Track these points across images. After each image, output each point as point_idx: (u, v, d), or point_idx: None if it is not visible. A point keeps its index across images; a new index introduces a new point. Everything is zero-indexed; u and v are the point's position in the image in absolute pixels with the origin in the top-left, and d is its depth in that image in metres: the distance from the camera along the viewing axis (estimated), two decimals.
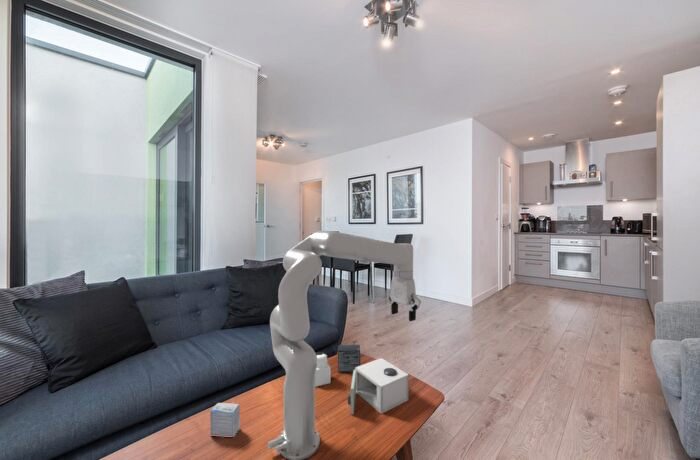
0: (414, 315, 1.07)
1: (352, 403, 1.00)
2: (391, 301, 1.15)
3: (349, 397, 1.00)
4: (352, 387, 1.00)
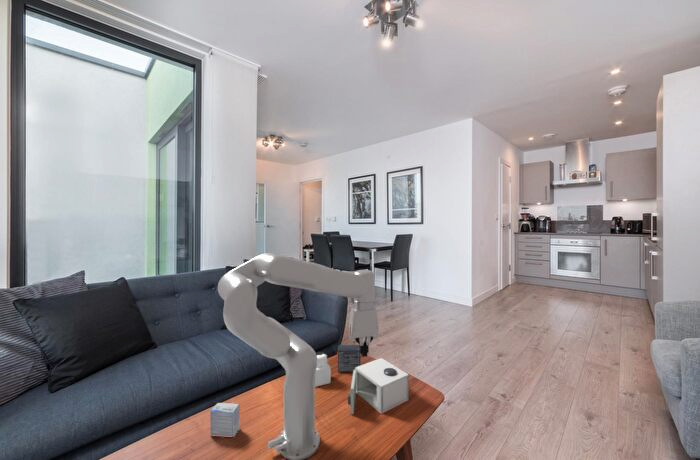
0: (360, 349, 1.00)
1: (352, 403, 1.00)
2: (367, 339, 1.02)
3: (349, 397, 1.00)
4: (352, 387, 1.00)
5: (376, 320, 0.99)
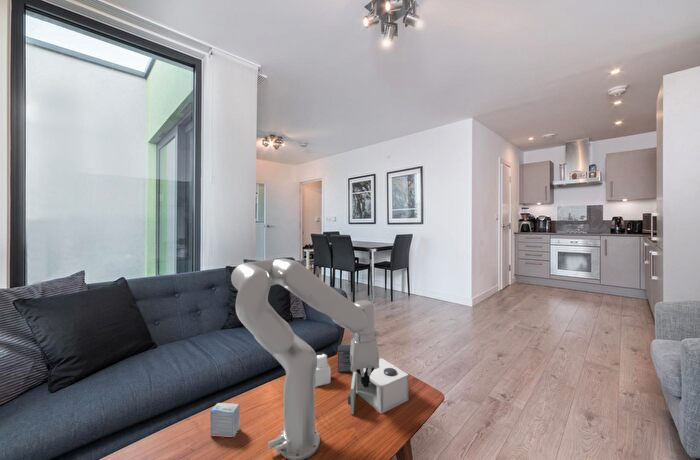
0: (361, 380, 1.01)
1: (352, 403, 1.00)
2: (368, 369, 1.03)
3: (349, 397, 1.00)
4: (352, 387, 1.00)
5: (377, 351, 1.00)
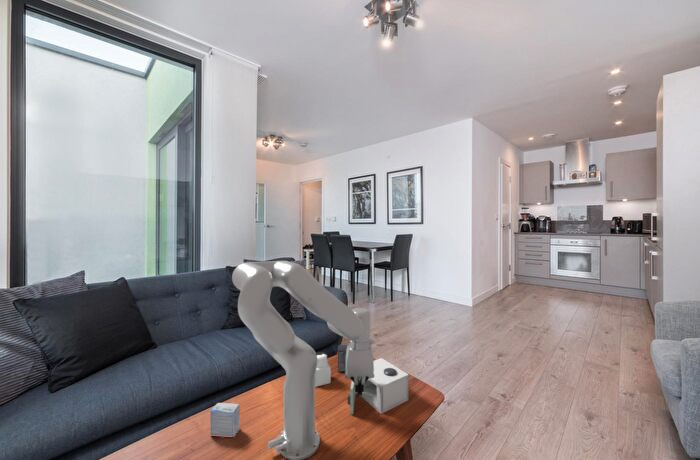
0: (355, 387, 1.01)
1: (352, 403, 1.00)
2: None
3: (349, 397, 1.00)
4: (352, 387, 1.00)
5: (371, 360, 0.99)
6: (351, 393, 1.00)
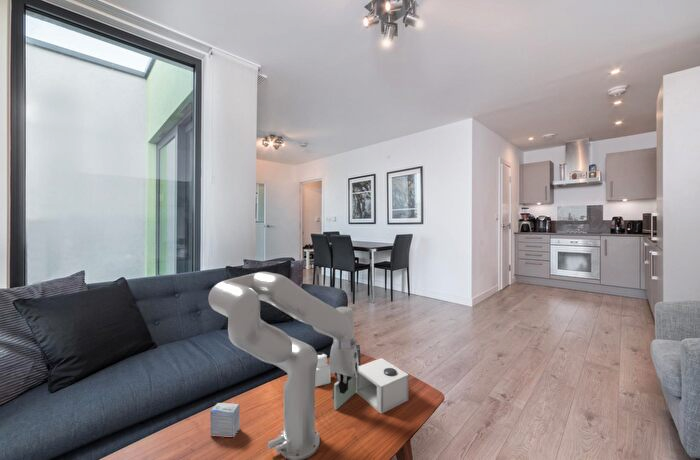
0: None
1: (335, 399, 1.02)
2: None
3: (333, 392, 1.03)
4: (336, 383, 1.03)
5: (350, 361, 0.98)
6: (334, 389, 1.02)
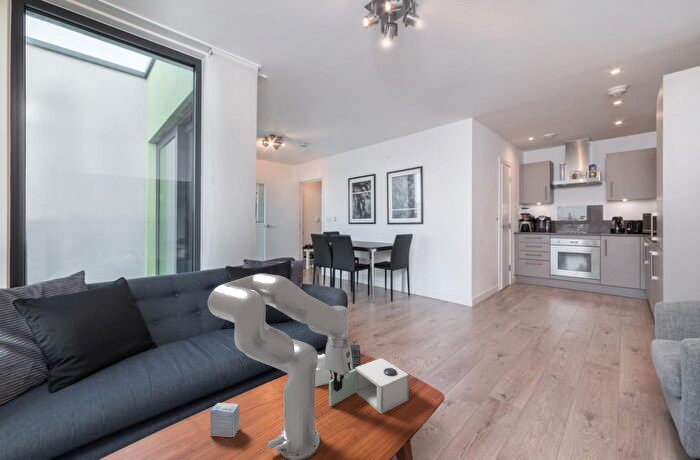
0: None
1: (330, 395, 1.04)
2: None
3: (329, 389, 1.05)
4: (331, 380, 1.05)
5: (342, 360, 0.99)
6: (329, 385, 1.04)
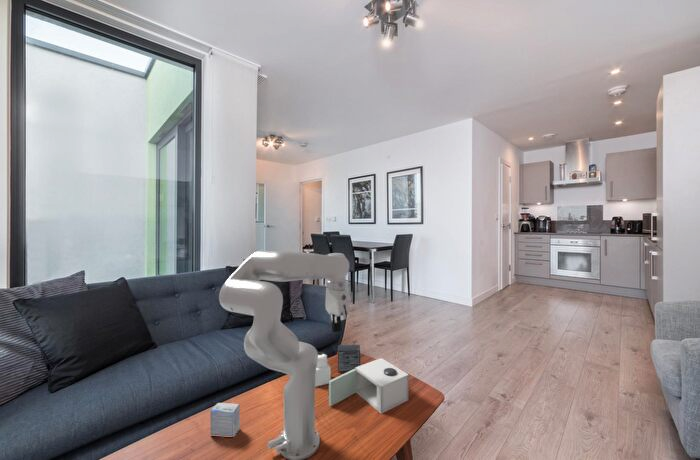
0: None
1: (330, 395, 1.04)
2: None
3: (329, 389, 1.05)
4: (331, 380, 1.05)
5: (337, 301, 1.05)
6: (329, 385, 1.04)
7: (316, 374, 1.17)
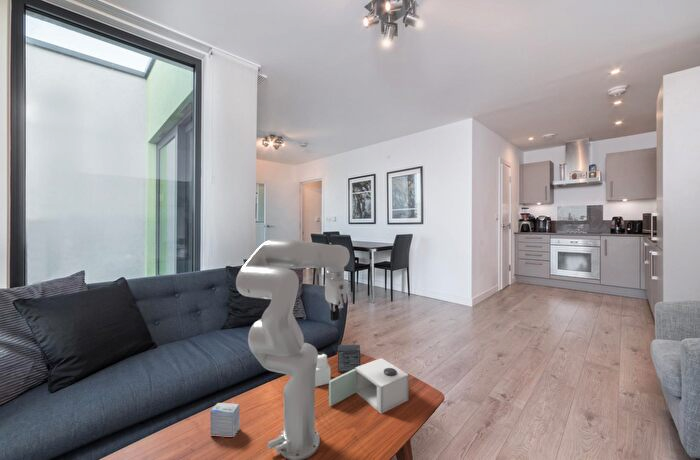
0: None
1: (330, 395, 1.04)
2: None
3: (329, 389, 1.05)
4: (331, 380, 1.05)
5: (335, 290, 1.10)
6: (329, 385, 1.04)
7: (316, 374, 1.17)
